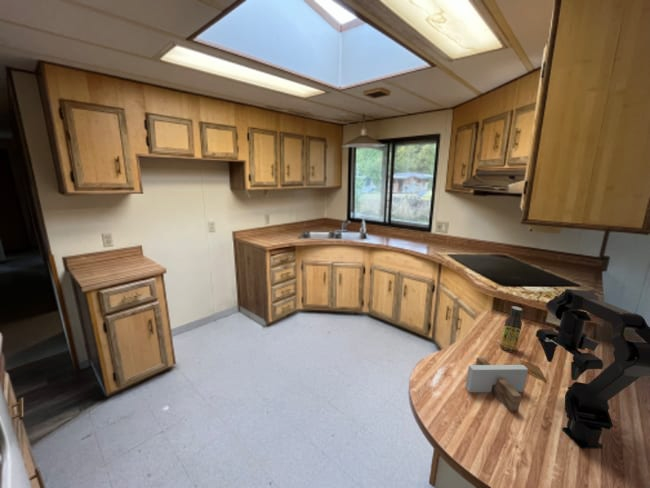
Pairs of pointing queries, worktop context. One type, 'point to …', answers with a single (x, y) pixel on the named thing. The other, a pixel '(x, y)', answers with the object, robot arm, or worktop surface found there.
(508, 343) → the sauce bottle
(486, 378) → the slotted top plate
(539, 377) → the shard
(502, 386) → the slotted base plate
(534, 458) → the worktop surface
